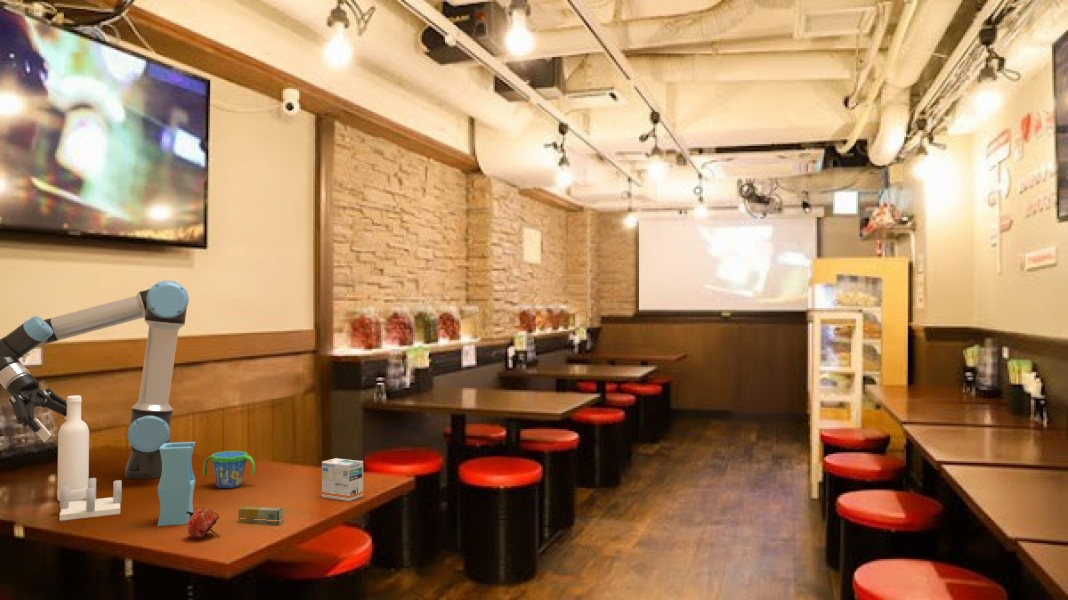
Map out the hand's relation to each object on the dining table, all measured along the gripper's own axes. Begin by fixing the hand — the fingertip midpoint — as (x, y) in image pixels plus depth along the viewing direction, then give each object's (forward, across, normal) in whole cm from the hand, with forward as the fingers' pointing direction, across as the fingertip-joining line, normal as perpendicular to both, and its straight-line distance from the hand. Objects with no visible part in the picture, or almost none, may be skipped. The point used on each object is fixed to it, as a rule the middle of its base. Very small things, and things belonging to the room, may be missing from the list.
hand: (65, 434), depth 219 cm
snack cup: (+41, -21, +14) cm, 48 cm away
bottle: (+15, 0, -12) cm, 19 cm away
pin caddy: (+25, +10, -2) cm, 27 cm away
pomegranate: (+55, +28, +28) cm, 68 cm away
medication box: (+61, +14, +34) cm, 71 cm away
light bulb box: (+69, -13, +42) cm, 82 cm away
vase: (+45, +16, +18) cm, 51 cm away
